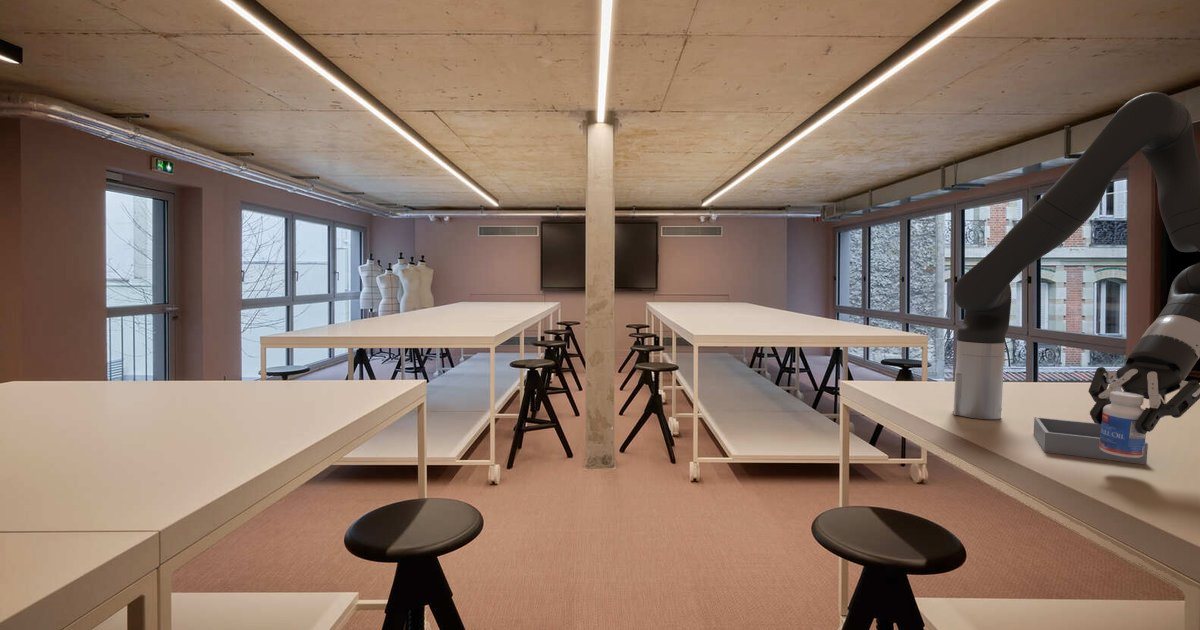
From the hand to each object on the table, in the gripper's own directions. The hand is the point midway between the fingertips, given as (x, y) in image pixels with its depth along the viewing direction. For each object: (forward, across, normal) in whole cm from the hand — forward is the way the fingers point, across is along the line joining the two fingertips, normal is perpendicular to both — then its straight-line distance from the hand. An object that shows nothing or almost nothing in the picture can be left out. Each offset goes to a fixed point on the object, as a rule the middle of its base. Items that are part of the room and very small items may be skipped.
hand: (1117, 425), depth 93 cm
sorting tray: (-3, -11, +15) cm, 19 cm away
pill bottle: (+2, 0, +5) cm, 5 cm away
